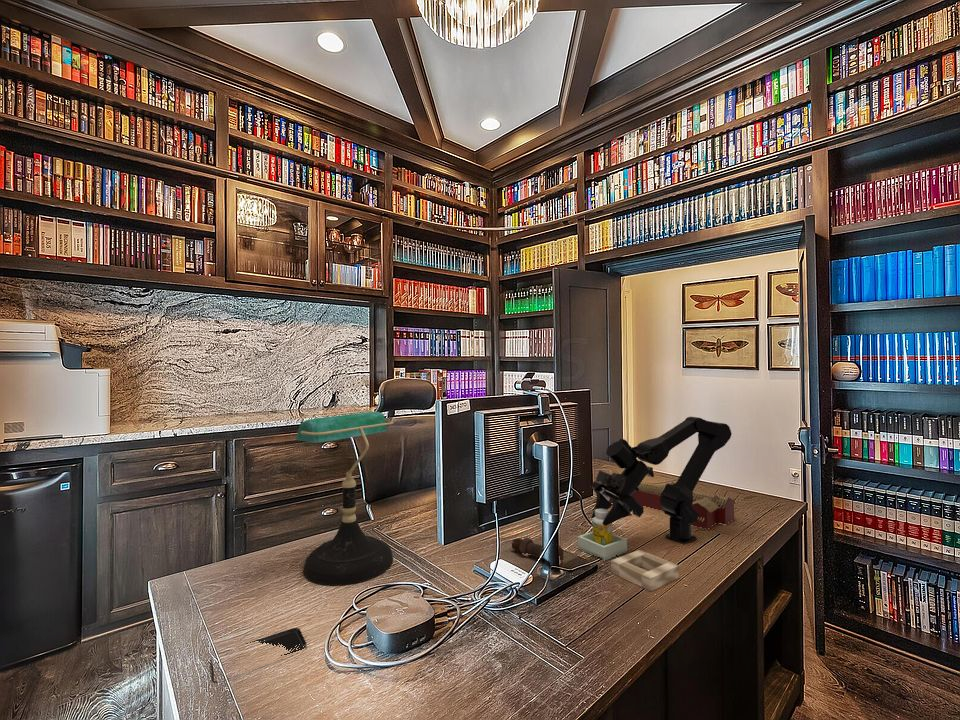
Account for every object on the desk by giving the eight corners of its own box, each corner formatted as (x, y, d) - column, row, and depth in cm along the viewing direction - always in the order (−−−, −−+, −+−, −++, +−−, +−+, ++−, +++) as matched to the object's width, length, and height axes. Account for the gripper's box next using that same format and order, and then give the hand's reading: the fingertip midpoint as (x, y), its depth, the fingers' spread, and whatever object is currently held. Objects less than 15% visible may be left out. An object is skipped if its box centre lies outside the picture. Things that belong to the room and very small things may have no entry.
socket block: (639, 560, 117) (639, 549, 117) (679, 577, 108) (678, 565, 108) (611, 572, 111) (611, 560, 111) (651, 591, 101) (650, 578, 101)
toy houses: (737, 518, 149) (736, 488, 150) (714, 534, 136) (714, 501, 136) (618, 491, 183) (617, 467, 183) (590, 502, 169) (589, 475, 169)
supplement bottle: (616, 544, 124) (615, 510, 124) (605, 550, 121) (604, 515, 121) (600, 539, 128) (599, 506, 128) (589, 544, 125) (588, 510, 125)
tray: (600, 540, 131) (600, 529, 131) (627, 551, 123) (627, 539, 123) (577, 548, 126) (577, 536, 126) (604, 560, 118) (604, 547, 118)
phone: (307, 646, 82) (214, 679, 73) (307, 652, 82) (214, 686, 73) (298, 626, 88) (211, 654, 80) (298, 631, 88) (211, 660, 80)
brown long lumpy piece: (516, 556, 126) (560, 570, 115) (506, 551, 122) (550, 566, 112) (522, 535, 128) (565, 548, 117) (512, 530, 125) (556, 543, 114)
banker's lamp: (360, 538, 134) (360, 408, 135) (415, 557, 121) (414, 412, 122) (278, 572, 113) (278, 417, 113) (334, 599, 99) (333, 423, 100)
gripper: (595, 454, 135) (564, 494, 131) (633, 467, 117) (598, 514, 114) (618, 477, 137) (587, 517, 134) (658, 494, 119) (624, 540, 116)
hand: (598, 521), depth 124 cm, fingers closed on supplement bottle, 5 cm apart
